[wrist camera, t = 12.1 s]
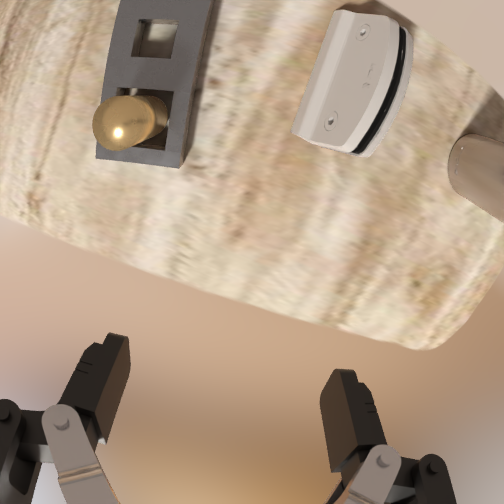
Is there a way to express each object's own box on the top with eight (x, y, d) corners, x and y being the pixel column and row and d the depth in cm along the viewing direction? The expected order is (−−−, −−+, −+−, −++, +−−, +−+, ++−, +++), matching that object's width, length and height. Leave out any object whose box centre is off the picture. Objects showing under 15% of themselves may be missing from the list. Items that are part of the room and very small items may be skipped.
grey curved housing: (335, 7, 26) (397, 0, 19) (365, 26, 29) (428, 27, 21) (288, 135, 34) (339, 161, 26) (322, 146, 36) (375, 174, 28)
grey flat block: (215, -2, 26) (212, -9, 24) (183, 163, 35) (178, 168, 33) (130, -4, 25) (123, -10, 23) (104, 154, 34) (95, 158, 32)
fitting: (171, 97, 31) (147, 97, 23) (164, 140, 34) (139, 153, 26) (129, 94, 31) (95, 94, 23) (124, 135, 33) (90, 148, 25)
